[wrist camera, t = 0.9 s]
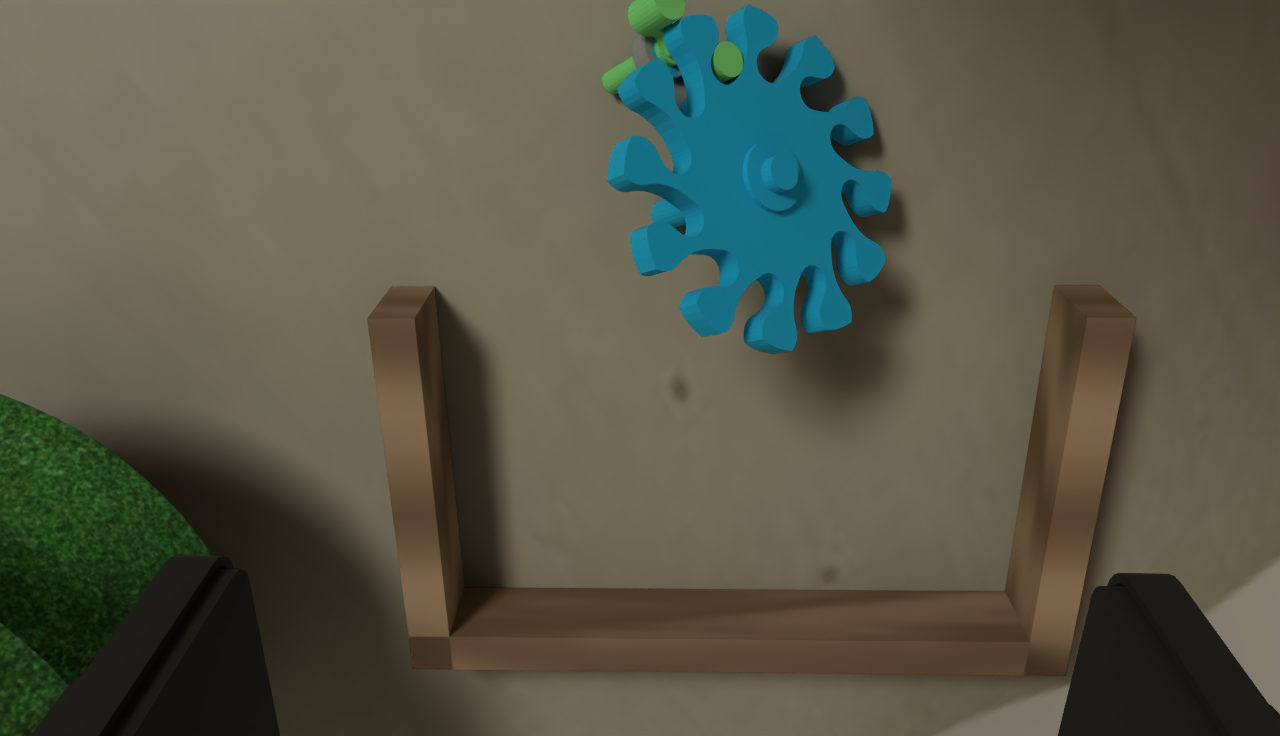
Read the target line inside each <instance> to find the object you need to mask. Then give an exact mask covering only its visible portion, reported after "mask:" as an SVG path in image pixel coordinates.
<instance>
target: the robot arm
mask: <svg viewBox="0 0 1280 736" xmlns="http://www.w3.org/2000/svg"><path fill="white" fill-rule="evenodd" d="M31 736H280V734H279V729H278V724H277V719H276V714H275V708H274V703H273V698H272V693H271V688H270V683H269V678H268V673H267V668H266V663H265V658H264V653H263V648H262V643H261V638H260V633H259V628H258V623H257V618H256V612H255V607H254V602H253V597H252V592H251V587H250V582H249V578H248V575H247V573H246V572H245V571H244V570H241V569H234V568H233V564H232V562H231V561H230V559H229V558H228V557H225V556H202V555H175V556H172V557H170V558H169V559H168V560H167V561H166V562H165V563H164V565H163V566H162V567H161V569H160V570H159V571H158V573H157V574H156V575H155V577H154V578H153V579H152V581H151V582H150V584H149V585H148V586H147V588H146V589H145V590H144V592H143V593H142V594H141V596H140V597H139V598H138V600H137V601H136V603H135V604H134V605H133V607H132V608H131V609H130V611H129V612H128V613H127V615H126V616H125V617H124V619H123V620H122V622H121V623H120V624H119V626H118V627H117V628H116V630H115V631H114V632H113V634H112V635H111V636H110V638H109V639H108V640H107V642H106V643H105V645H104V646H103V647H102V649H101V650H100V651H99V653H98V654H97V655H96V657H95V658H94V659H93V661H92V662H91V664H90V665H89V666H88V668H87V669H86V670H85V672H84V673H83V674H82V676H81V677H79V678H77V679H75V680H74V681H73V682H72V683H71V684H70V685H69V686H68V687H67V688H66V689H65V690H64V692H63V693H62V694H61V696H60V697H59V698H58V700H57V701H56V702H55V704H54V705H53V706H52V708H51V709H50V710H49V712H48V713H47V714H46V716H45V717H44V718H43V720H42V721H41V722H40V724H39V725H38V726H37V728H36V729H35V730H34V732H33V733H32V734H31ZM1058 736H1280V714H1279V713H1278V712H1277V711H1276V710H1275V709H1274V708H1273V707H1272V706H1271V705H1269V704H1268V703H1267V702H1266V700H1265V698H1264V697H1263V696H1262V694H1261V693H1260V692H1259V690H1258V689H1257V687H1256V686H1255V685H1254V683H1253V682H1252V681H1251V679H1250V678H1249V676H1248V675H1247V674H1246V672H1245V671H1244V670H1243V668H1242V667H1241V665H1240V664H1239V663H1238V661H1237V660H1236V658H1235V657H1234V656H1233V654H1232V653H1231V652H1230V650H1229V649H1228V647H1227V646H1226V645H1225V643H1224V642H1223V641H1222V639H1221V638H1220V636H1219V635H1218V634H1217V632H1216V631H1215V629H1214V628H1213V627H1212V625H1211V624H1210V623H1209V621H1208V620H1207V618H1206V617H1205V616H1204V614H1203V613H1202V612H1201V610H1200V609H1199V607H1198V606H1197V605H1196V603H1195V602H1194V601H1193V599H1192V598H1191V596H1190V595H1189V594H1188V592H1187V591H1186V589H1185V588H1184V587H1183V585H1182V584H1181V583H1180V581H1179V580H1178V579H1177V578H1176V577H1175V576H1172V575H1170V574H1145V573H1118V574H1115V575H1113V576H1112V578H1111V579H1110V580H1109V583H1108V586H1099V587H1096V589H1095V590H1094V591H1093V594H1092V597H1091V601H1090V605H1089V609H1088V613H1087V617H1086V622H1085V626H1084V630H1083V634H1082V638H1081V642H1080V646H1079V650H1078V655H1077V659H1076V663H1075V667H1074V671H1073V675H1072V679H1071V684H1070V688H1069V692H1068V696H1067V701H1066V705H1065V708H1064V713H1063V717H1062V721H1061V725H1060V729H1059V733H1058Z"/></svg>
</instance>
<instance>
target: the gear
mask: <svg viewBox="0 0 1280 736" xmlns="http://www.w3.org/2000/svg"><path fill="white" fill-rule="evenodd" d="M684 12H685V0H636V1H634V2H633V3H632V4H631V5H630V6H629V9H628V19H629V23H630V25H631V27H632V28H633V29H634V30H635V31H636V32H637V33H638V35H637V36H636V38H635V39H634V42H633V45H632V57H630V58H629V59H627V60H625V61H624V62H622V63H621V64H619V65H617V66H616V67H614V68H612V69H611V70H609V71H608V72H606V73H605V74H604V75H603V79H602V82H603V86H604V88H605V89H606V90H607V91H608V92H609V93H611V94H619V96H620V98H621V100H622V102H623V103H624V104H625V106H626V107H628V108H629V109H630V110H632V111H634V112H636V113H638V114H640V115H641V116H642V117H644V118H645V119H647V120H648V121H649V122H650V123H651V124H652V125H653V126H654V127H655V129H656V130H657V131H658V132H659V134H660V135H661V137H662V139H663V140H664V142H665V144H666V146H667V148H668V150H669V152H670V154H671V156H672V158H673V162H674V170H673V173H672V172H670V171H669V170H668V169H667V168H666V167H665V165H664V164H663V162H662V160H661V158H660V156H659V154H658V152H657V150H656V149H655V147H654V145H653V144H652V143H651V142H650V141H648V140H647V139H646V138H643V137H641V136H631V137H629V138H627V139H625V140H623V141H621V142H619V143H617V144H616V145H615V147H614V149H613V150H612V153H611V157H610V161H609V167H608V179H607V181H608V183H609V184H610V185H611V186H612V187H614V188H615V189H616V190H619V191H621V192H630V191H646V192H650V193H653V194H656V195H658V196H660V197H662V198H663V200H660V201H658V202H656V203H655V204H654V205H653V207H652V211H651V216H652V220H653V224H650V225H648V226H645V227H642V228H639V229H637V230H635V231H633V232H632V233H631V234H630V244H631V250H632V254H633V257H634V261H635V263H636V266H637V269H638V271H639V274H641V275H644V276H652V275H655V274H659V273H662V272H666V271H669V270H672V269H674V268H675V267H677V265H678V264H679V263H680V262H681V261H682V260H683V259H684V258H685V257H687V256H688V255H689V254H699V255H708V256H710V257H712V258H713V259H714V260H715V261H716V262H717V264H718V266H719V269H720V281H719V284H718V285H717V286H712V287H707V288H703V289H699V290H695V291H691V292H689V293H687V294H686V295H685V296H684V297H683V298H682V300H681V302H680V306H679V309H680V311H681V313H682V315H683V317H684V318H685V320H686V321H687V322H688V324H689V325H690V326H691V327H692V328H693V329H694V330H695V331H696V332H697V333H698V334H699V335H700V336H701V337H706V336H711V335H717V334H721V333H724V332H726V331H727V330H728V329H729V328H730V327H731V325H732V323H733V321H734V316H735V311H736V307H737V304H738V301H739V299H740V298H741V296H742V294H743V292H744V291H745V290H746V288H747V287H748V286H749V285H750V284H751V283H752V282H754V281H755V280H758V281H759V282H760V283H761V285H762V287H763V289H764V292H765V302H764V305H763V307H762V309H761V310H760V311H758V312H757V313H756V314H754V315H753V316H752V317H751V318H750V319H748V321H747V323H746V325H745V327H744V342H745V343H746V344H747V345H749V346H750V347H751V348H753V349H755V350H758V351H761V352H765V353H770V354H776V353H783V352H790V351H792V350H793V349H794V347H795V345H796V342H797V329H796V325H795V321H794V296H795V291H796V288H797V284H798V282H799V279H800V276H801V274H802V275H803V276H804V278H805V280H806V283H807V295H806V298H805V300H804V303H803V306H802V309H801V321H802V325H803V327H804V329H805V331H806V332H807V333H817V332H823V331H829V330H835V329H839V328H841V327H844V326H846V325H848V324H849V323H851V322H852V311H851V307H850V305H849V303H848V301H847V299H846V298H845V297H844V295H843V294H842V292H841V290H840V288H839V286H838V284H837V281H836V278H835V275H834V271H833V266H832V257H831V241H832V242H833V244H834V246H835V249H836V256H837V268H838V272H839V275H840V277H841V279H842V280H843V281H844V282H845V283H846V284H847V285H849V286H853V285H858V284H863V283H868V282H870V281H872V280H873V279H874V278H875V277H876V276H877V275H878V274H879V272H880V270H881V269H882V267H883V265H884V263H885V261H886V257H885V254H884V252H883V250H882V248H881V247H880V246H879V245H878V244H877V243H876V242H874V241H872V240H870V239H868V238H867V237H866V236H864V235H863V234H862V233H861V232H860V231H859V230H858V229H857V227H856V226H855V224H854V223H853V221H852V220H851V218H850V216H849V214H848V212H847V210H846V208H845V205H844V203H843V201H842V196H841V191H842V192H843V194H844V196H845V198H846V200H847V202H848V204H849V206H850V208H851V210H852V211H853V212H854V213H855V214H856V215H857V216H859V217H869V216H872V215H876V214H879V213H883V212H886V210H887V208H888V205H889V200H890V193H891V179H890V178H889V176H888V175H887V174H886V173H884V172H882V171H878V170H876V171H862V170H859V169H857V168H855V167H853V166H851V165H850V164H848V163H847V162H846V161H845V160H843V159H842V158H841V157H840V156H839V155H838V154H837V153H836V152H835V151H834V149H833V147H832V145H831V141H830V136H831V137H832V138H833V139H834V140H835V141H836V142H838V143H839V144H841V145H845V146H847V145H851V144H854V143H856V142H859V141H862V140H865V139H867V138H869V137H871V136H872V135H873V134H874V131H873V122H872V117H871V113H870V110H869V107H868V104H867V101H866V99H864V98H862V97H855V98H852V99H850V100H847V101H845V102H843V103H840V104H838V105H836V106H834V107H833V108H832V109H831V110H830V111H829V112H821V111H816V110H812V109H810V108H808V107H807V106H806V105H805V103H804V102H803V100H802V98H801V94H800V86H801V87H807V86H810V85H812V84H814V83H817V82H819V81H821V80H823V79H825V78H828V77H829V76H830V75H831V74H832V73H833V71H834V68H835V64H834V62H833V60H832V57H831V56H830V54H829V52H828V51H827V49H826V48H825V47H824V45H823V44H822V43H821V41H820V40H819V39H818V38H817V37H816V36H811V37H809V38H807V39H805V40H803V41H801V42H799V43H797V44H795V45H793V46H792V47H790V48H789V49H788V50H787V52H786V55H785V60H784V64H783V67H782V70H781V72H780V74H779V76H778V77H777V78H776V80H775V81H774V82H773V83H769V82H767V81H766V80H765V79H764V78H763V77H762V76H761V75H760V73H759V71H758V67H757V56H758V54H759V52H760V51H761V50H763V49H764V48H766V47H768V46H770V45H771V44H773V43H774V42H775V40H776V38H777V35H778V25H777V21H776V20H775V19H774V18H773V17H772V16H770V15H769V14H767V13H766V12H764V11H763V10H761V9H759V8H757V7H754V6H752V5H750V4H748V5H747V6H745V7H743V8H742V9H740V10H738V11H737V12H735V13H733V14H731V15H730V17H729V18H728V20H727V22H726V27H725V28H726V36H727V40H728V41H722V42H720V43H718V37H719V36H718V29H717V26H716V23H715V21H714V20H713V18H712V17H710V16H706V15H693V16H688V17H684V18H681V19H679V18H680V17H681V16H682V15H683V14H684ZM677 19H679V20H678V21H676V20H677ZM674 21H676V22H675V23H673V24H672V22H674ZM717 43H718V44H717ZM684 225H686V233H685V235H683V234H681V233H680V232H679V231H678V230H676V229H675V228H678V227H681V226H684Z"/></svg>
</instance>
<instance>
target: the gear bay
mask: <svg viewBox="0 0 1280 736" xmlns="http://www.w3.org/2000/svg"><path fill="white" fill-rule="evenodd" d="M367 320H368V328H369V335H370V343H371V351H372V358H373V366H374V374H375V382H376V389H377V397H378V405H379V412H380V420H381V428H382V435H383V443H384V451H385V459H386V466H387V474H388V482H389V489H390V497H391V505H392V512H393V520H394V528H395V536H396V543H397V551H398V559H399V566H400V574H401V582H402V589H403V597H404V605H405V613H406V620H407V628H408V636H409V643H410V651H411V659H412V666H413V669H454V670H552V671H650V672H748V673H846V674H944V675H1042V676H1066V671H1067V666H1068V660H1069V655H1070V650H1071V645H1072V640H1073V635H1074V630H1075V625H1076V620H1077V615H1078V610H1079V605H1080V600H1081V595H1082V590H1083V585H1084V580H1085V575H1086V570H1087V565H1088V560H1089V555H1090V550H1091V545H1092V540H1093V535H1094V530H1095V525H1096V520H1097V515H1098V510H1099V505H1100V499H1101V494H1102V489H1103V484H1104V479H1105V474H1106V469H1107V464H1108V459H1109V454H1110V449H1111V444H1112V439H1113V434H1114V429H1115V424H1116V419H1117V414H1118V409H1119V404H1120V399H1121V394H1122V389H1123V384H1124V379H1125V374H1126V369H1127V364H1128V359H1129V354H1130V349H1131V343H1132V338H1133V333H1134V328H1135V323H1136V317H1135V316H1134V315H1133V314H1132V313H1131V312H1129V311H1128V310H1127V309H1126V308H1125V307H1124V306H1123V305H1121V304H1120V303H1119V302H1118V301H1117V300H1116V299H1115V298H1113V297H1112V296H1111V295H1110V294H1109V293H1108V292H1107V291H1106V290H1104V289H1103V288H1102V287H1101V286H1100V285H1054V292H1053V298H1052V304H1051V310H1050V316H1049V323H1048V329H1047V335H1046V341H1045V347H1044V354H1043V360H1042V366H1041V372H1040V378H1039V385H1038V391H1037V397H1036V403H1035V409H1034V415H1033V422H1032V428H1031V434H1030V440H1029V446H1028V453H1027V459H1026V465H1025V471H1024V477H1023V484H1022V490H1021V496H1020V502H1019V508H1018V515H1017V521H1016V527H1015V533H1014V539H1013V546H1012V552H1011V558H1010V564H1009V570H1008V577H1007V583H1006V589H1005V592H988V591H857V590H726V589H594V588H465V587H464V577H463V567H462V557H461V547H460V537H459V527H458V517H457V507H456V497H455V487H454V477H453V467H452V457H451V447H450V437H449V427H448V417H447V407H446V397H445V387H444V377H443V367H442V357H441V347H440V337H439V327H438V317H437V307H436V297H435V287H391V288H390V289H389V290H388V292H387V293H386V294H385V296H384V297H383V298H382V300H381V301H380V302H379V304H378V305H377V306H376V308H375V309H374V310H373V312H372V313H371V314H370V316H369V317H368V318H367Z"/></svg>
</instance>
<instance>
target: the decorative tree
mask: <svg viewBox="0 0 1280 736" xmlns="http://www.w3.org/2000/svg"><path fill="white" fill-rule="evenodd" d="M175 555H202V556H212V555H211V554H210V552H209V550H208V549H207V547H206V546H205V545H204V543H203V542H202V540H201V539H200V538H199V536H198V535H197V533H196V532H195V531H194V529H193V528H192V527H191V526H190V525H189V523H188V522H187V521H186V520H185V519H184V517H183V516H182V515H181V514H180V513H179V511H178V510H177V509H176V508H175V507H174V506H173V505H172V504H171V503H170V502H169V501H168V500H167V499H166V498H165V497H164V496H163V495H162V494H161V493H160V492H159V491H158V490H157V489H156V488H155V487H154V486H153V485H152V484H151V483H150V482H148V481H147V480H146V479H145V478H144V477H143V476H142V475H140V474H139V473H138V472H137V471H136V470H134V469H133V468H132V467H131V466H129V465H128V464H127V463H126V462H125V461H123V460H122V459H120V458H119V457H118V456H116V455H115V454H114V453H112V452H111V451H109V450H108V449H107V448H105V447H104V446H102V445H101V444H99V443H98V442H96V441H94V440H93V439H91V438H90V437H88V436H87V435H85V434H83V433H82V432H80V431H78V430H77V429H75V428H73V427H71V426H69V425H67V424H66V423H64V422H62V421H60V420H58V419H57V418H55V417H52V416H50V415H48V414H46V413H44V412H42V411H40V410H38V409H36V408H33V407H31V406H29V405H26V404H24V403H21V402H19V401H16V400H14V399H11V398H9V397H7V396H4V395H1V394H0V736H31V734H32V733H33V732H34V730H35V729H36V728H37V726H38V725H39V724H40V722H41V721H42V720H43V718H44V717H45V716H46V714H47V713H48V712H49V710H50V709H51V708H52V706H53V705H54V704H55V702H56V701H57V700H58V698H59V697H60V696H61V694H62V693H63V692H64V690H65V689H66V688H67V687H68V686H69V685H70V684H71V683H72V682H73V681H74V680H75V679H77V678H79V677H81V676H82V674H83V673H84V672H85V670H86V669H87V668H88V666H89V665H90V664H91V662H92V661H93V659H94V658H95V657H96V655H97V654H98V653H99V651H100V650H101V649H102V647H103V646H104V645H105V643H106V642H107V640H108V639H109V638H110V636H111V635H112V634H113V632H114V631H115V630H116V628H117V627H118V626H119V624H120V623H121V622H122V620H123V619H124V617H125V616H126V615H127V613H128V612H129V611H130V609H131V608H132V607H133V605H134V604H135V603H136V601H137V600H138V598H139V597H140V596H141V594H142V593H143V592H144V590H145V589H146V588H147V586H148V585H149V584H150V582H151V581H152V579H153V578H154V577H155V575H156V574H157V573H158V571H159V570H160V569H161V567H162V566H163V565H164V563H165V562H166V561H167V560H168V559H169V558H170V557H172V556H175Z"/></svg>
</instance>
